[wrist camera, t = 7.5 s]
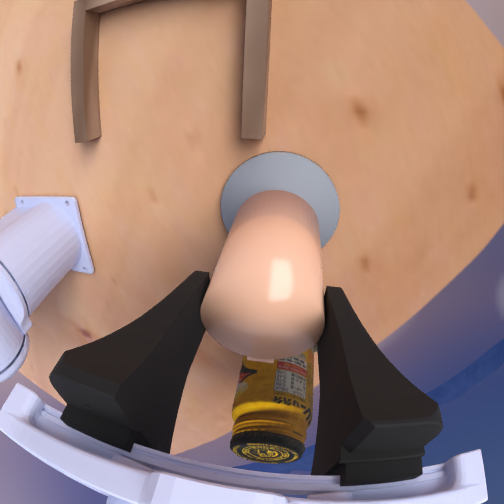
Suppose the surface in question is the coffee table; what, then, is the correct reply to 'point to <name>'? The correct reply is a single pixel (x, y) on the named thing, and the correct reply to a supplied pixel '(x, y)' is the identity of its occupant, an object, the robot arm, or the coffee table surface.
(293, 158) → the coaster
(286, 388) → the condiment
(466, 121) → the coffee table surface
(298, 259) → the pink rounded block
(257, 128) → the holder
